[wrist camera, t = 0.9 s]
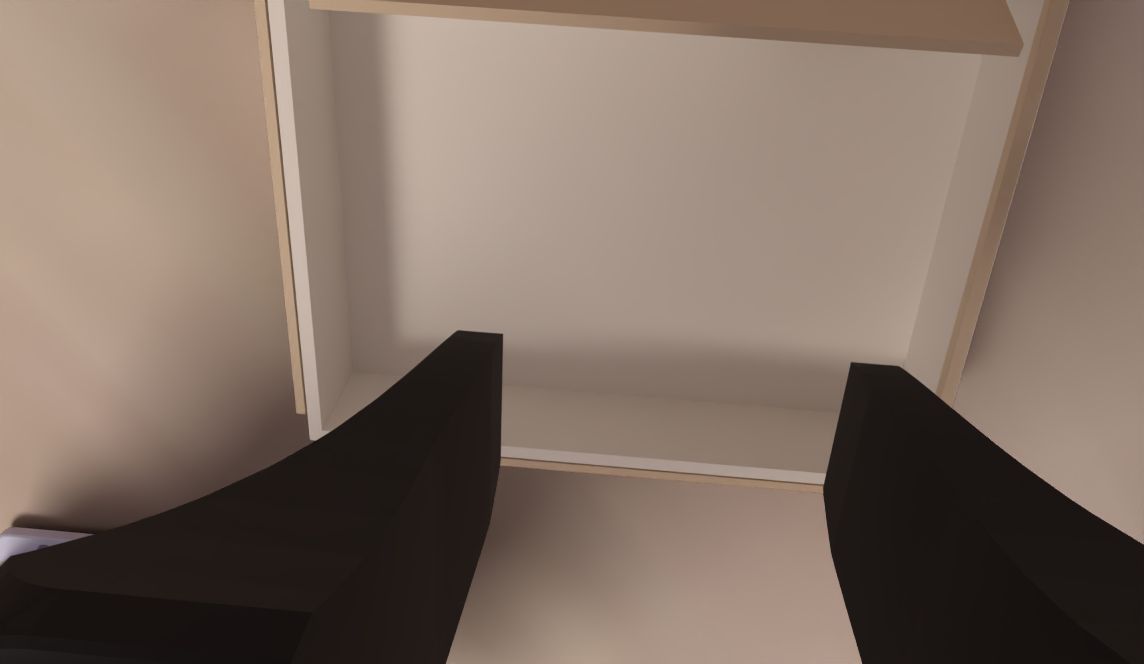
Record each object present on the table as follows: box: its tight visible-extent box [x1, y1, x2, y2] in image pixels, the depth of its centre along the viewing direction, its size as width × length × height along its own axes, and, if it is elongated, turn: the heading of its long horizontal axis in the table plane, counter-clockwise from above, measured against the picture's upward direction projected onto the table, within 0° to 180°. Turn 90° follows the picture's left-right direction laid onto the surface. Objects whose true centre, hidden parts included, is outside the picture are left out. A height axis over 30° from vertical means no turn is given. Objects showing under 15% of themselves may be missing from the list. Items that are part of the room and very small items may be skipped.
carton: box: [254, 0, 1070, 493], centre depth 20 cm, size 14×12×3 cm
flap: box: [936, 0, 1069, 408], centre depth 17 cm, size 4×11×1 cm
